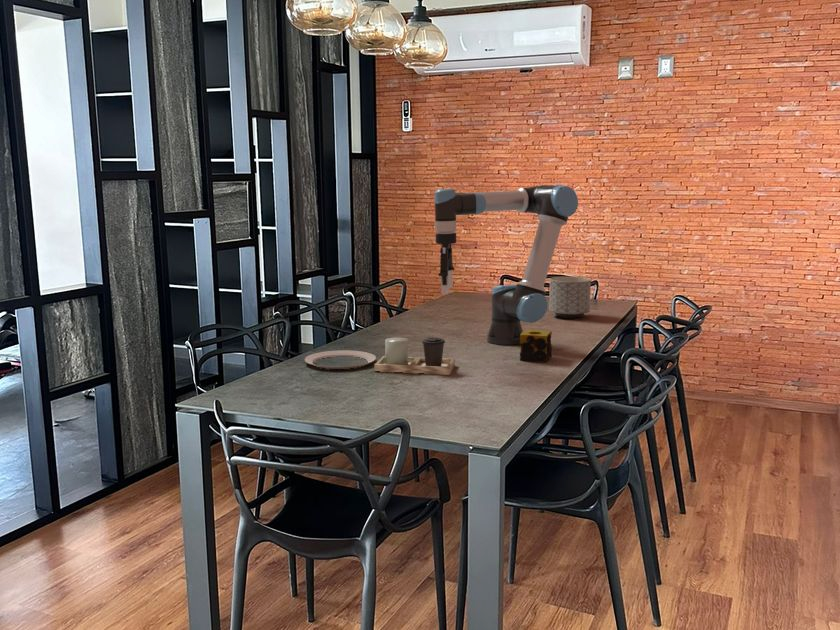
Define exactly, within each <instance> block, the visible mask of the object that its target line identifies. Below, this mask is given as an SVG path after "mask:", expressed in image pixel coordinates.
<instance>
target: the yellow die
mask: <svg viewBox="0 0 840 630" xmlns="http://www.w3.org/2000/svg"><path fill="white" fill-rule="evenodd" d="M552 332H553V331H552V330H545V329H544V330H543V329H540V330H539V329H525V330H523V333H521V334H520V344H519V345H520V349H519V351H520V352H519V357H520V358H519V361H521V362H532V363H534V362H535V363H548V362H549V360H551V358H552V356H553V354H552V352H553V351H552V349H553V348H552V343H551V342H552V340H551V338H552V334H553V333H552Z"/></svg>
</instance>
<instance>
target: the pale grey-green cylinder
mask: <svg viewBox="0 0 840 630" xmlns="http://www.w3.org/2000/svg"><path fill="white" fill-rule="evenodd" d="M384 347H385V348H384V350H385V351H384V352H385V353H384V356H385V364H390V365H408V357H409V339H408V338H406V337H390V338H389V337H388V338H385V340H384Z"/></svg>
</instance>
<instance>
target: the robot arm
mask: <svg viewBox="0 0 840 630" xmlns="http://www.w3.org/2000/svg"><path fill="white" fill-rule="evenodd" d="M433 203H434V220H435V221H434V223H433V226H434V227H435V232H436V233H435V234H434V235H435V244H436V245H441V247H440V248H439V249H440V252H439V253H440V261H439V262H440V266H439V267H440V269H439V273H438V277H440V292H441V293H440V294H441V295H449V294H450V289H453V287H454V286H453V284H454V283H453V281H454V280H453V275H454V274H453V271H454V270H455V267H454V264H453V248H452V245H454V244H456V243H457V233H456V232H457V216H467V215H469V216H470V215H478V214H483V213H485V212H504V211H505V212H507V211H508V212H509V211H517V212H518V213H528V214H529V213H531V214H536V215H537V219H538V221H539V222H538V226H537V229H536V232H535V236H534V239H533V242H532V246H531V249H530V253H529V256H528V258H527V259H528V260H527V262H526V266H525V269H524V273H523V277H522V279H521V280H520V281H518V282H517V283H516V284H506V285H505V284H504V285H495V286H493V287H492V290H491V323H490V326H489V327H488V328H489V329H488V332H487V335H486V342H488V343H490V344H492V345H493V344H494V345H499V346H500V345H501V346H502V345H503V346H504V345H505V346H511V345H512V346H513V345H520V334H521V333H523V332H524V330H523V327H522V324H521V323H523V322H524V323H537V322H539V321H540V320H541V319H543V318H544V317H545V315H546V313H547V310H548V308H549V302H548V300H547V298H546V293H547V290H546V289H545V286H544V285H545V283H546V280H547V277H548V273H549V269H550V266H551V263H552V259H553V256H554V254H555V249H556V245H557V243H558V241H559V237H560V232H561V229H562V227H564V226H565V225H567V223H568V219H569V217H572V216H573V215H574V214H576V212H577V210H578V208H579V198H578V195H577V193H576V191H575V190H574V189H573V188H572V187H570V186H567V185H563V184H557V185H556V184H553V185H551V184H550V185H548V184H542V185H536V186H529V187H520V188H518V189H516V190H503V191H501V190H500V191H478V192H477V191H475V192H473V191H470V192H456V189H455V188H453V189H452V188H446V189H444V188H442V189H441V188H440V189H436V190H435V192H434V201H433Z"/></svg>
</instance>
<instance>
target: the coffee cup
mask: <svg viewBox="0 0 840 630" xmlns="http://www.w3.org/2000/svg"><path fill="white" fill-rule="evenodd" d="M421 343H422V345H423V354H424V358H425V364H426V366H439V367H441V365H442V358H443V355H444V344H445V343H446V341H445V339H443V338H440V337H427V338H425V339H422V341H421Z"/></svg>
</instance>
